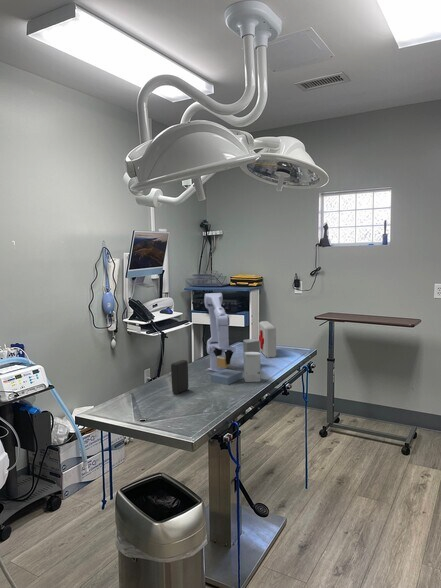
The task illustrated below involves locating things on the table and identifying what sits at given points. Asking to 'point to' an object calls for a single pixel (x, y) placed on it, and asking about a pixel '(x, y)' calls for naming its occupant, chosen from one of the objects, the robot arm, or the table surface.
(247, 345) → the skincare box
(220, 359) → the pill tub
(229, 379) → the box
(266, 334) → the bevelled white case
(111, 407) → the table surface
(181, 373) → the card reader
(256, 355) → the skincare box
